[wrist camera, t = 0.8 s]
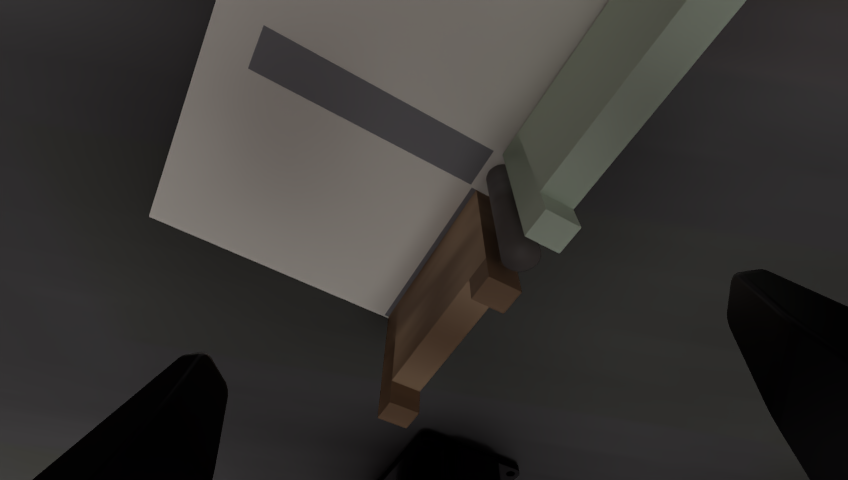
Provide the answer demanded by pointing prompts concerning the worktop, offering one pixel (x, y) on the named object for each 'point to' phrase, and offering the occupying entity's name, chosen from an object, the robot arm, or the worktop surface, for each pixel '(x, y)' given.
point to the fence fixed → (454, 294)
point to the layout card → (355, 129)
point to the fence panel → (603, 105)
